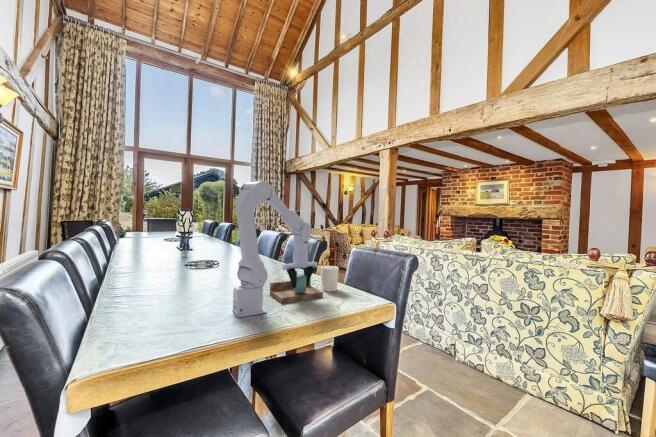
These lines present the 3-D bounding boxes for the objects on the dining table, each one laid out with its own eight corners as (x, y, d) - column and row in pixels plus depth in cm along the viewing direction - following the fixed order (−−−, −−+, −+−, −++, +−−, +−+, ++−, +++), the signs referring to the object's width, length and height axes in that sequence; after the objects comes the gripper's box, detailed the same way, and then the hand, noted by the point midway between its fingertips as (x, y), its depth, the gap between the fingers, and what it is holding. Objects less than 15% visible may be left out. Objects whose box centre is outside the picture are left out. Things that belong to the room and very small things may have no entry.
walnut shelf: (281, 303, 105) (281, 290, 105) (269, 294, 115) (270, 282, 115) (322, 297, 115) (323, 284, 114) (309, 289, 125) (309, 278, 125)
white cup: (338, 287, 129) (339, 266, 129) (337, 292, 121) (338, 269, 121) (321, 286, 130) (322, 265, 130) (319, 291, 122) (319, 268, 122)
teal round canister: (297, 293, 109) (297, 277, 109) (291, 289, 113) (291, 275, 113) (308, 291, 112) (308, 276, 111) (302, 288, 116) (303, 273, 116)
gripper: (287, 254, 105) (286, 291, 105) (321, 252, 112) (320, 286, 113) (280, 252, 111) (279, 286, 111) (313, 250, 118) (312, 282, 119)
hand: (299, 286), depth 112 cm, fingers closed on teal round canister, 5 cm apart
